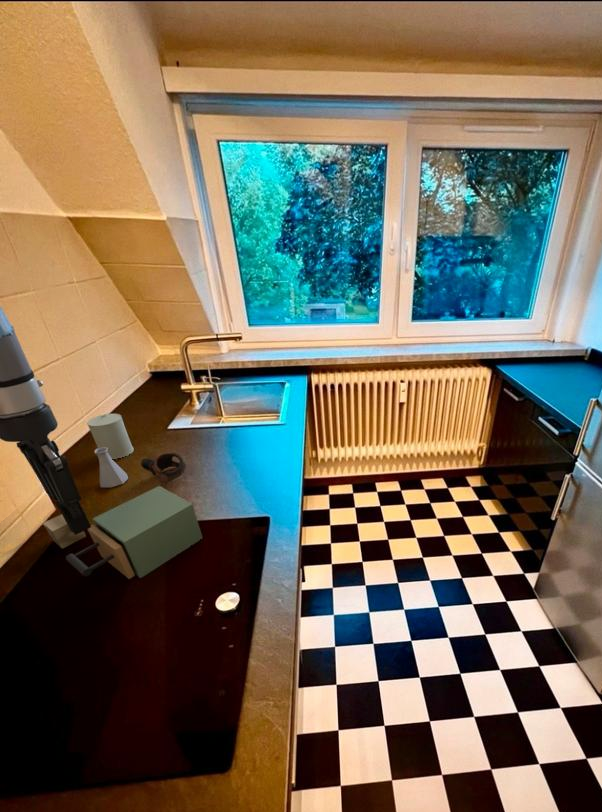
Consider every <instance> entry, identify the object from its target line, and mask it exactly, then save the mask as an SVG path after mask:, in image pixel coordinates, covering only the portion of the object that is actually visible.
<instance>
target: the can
mask: <svg viewBox="0 0 602 812" xmlns="http://www.w3.org/2000/svg"><path fill="white" fill-rule="evenodd" d="M124 423H125V422H124V420H123V417H122V415H121V414H119V413H104V414H99V415H96V416H93V417H92V418H89V419H88V420H87V421H86V425H87V427H88V429H89V431H90V434H91V436H92V438H93V440H94V442H95V444H96V445H95V446H96V447H97V449H98V448H102V447H107V448H108V454H109V455H110V457H111V458H112V459H116V460H118V459H117V458H121V459H123V458H122V457H124V458H126V457H128V456H130V455H131V454H133V453H134V449H135V448H134V446H133V445H132V442H131V440H130V437H129V434H128V432H127V429H126V426H125V424H124ZM129 454H130V455H129ZM125 456H126V457H125Z"/></svg>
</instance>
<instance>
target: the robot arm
mask: <svg viewBox="0 0 602 812" xmlns="http://www.w3.org/2000/svg"><path fill="white" fill-rule="evenodd" d="M15 331H16V330H15V328H14V326H13V324H12V323H11V321H10V320H9V319H8V316H7V314H6V313H5V311H4V309H3V308H2V306H1V305H0V440H1V441H4V442H7V443H16V447H17V448H18V449H19V450H20V452H21V454H23V456H24V457H25V459H26V460H27V462H28V464H29V466H30V467H31V469H32V470H33V472H34V474H35V476H36V477H37V478H38V481H39V482H40V483H41V485H42V487H43V488H44V490H45V493H46V494H47V495H50V496H51V499H52V500H53V501H55V504H54V506H55V508H56V509H57V510H59V512H60V515H61V514H62V515H63V517H64V519H65V521H66V523H67V525H68V526H69V528H70V530H71V532H73V533H74V534H75V535H77V534H79V533H81V532H83V531H84V532H85V531H88V530H87V529H89V528H91V525H92V524H91V523H90V521H89V519H88V517H87V516H86V513H85V512H84V509H83V507H82V505H81V503H80V502H81V501H82V496H81V495H80V492H79V490H78V488H77V485H76V482H75V480H74V478H73V476H72V473H71V471H70V468H69V463H68V459H67V457H65V455H60V453H59V451H60V449H59V447H58V445H57V443H56V441H55V440H51V439H50V438H49V435H50V433H53V432H54V431H55V430H56V429H57V428H58V426H59V424H58V423H59V422H58V421H57V418H56V416H55V414H54V412H53V410H52V408H51V406H50V405H49V404H47V403H46V401H47V399H46V397H45V395H44V393H43V390H42V389H41V388H42V387H43V386H44V383H43V381H42V380H41V379H37V378H36V377H35V373H34V371H33V370H32V368H31V365H30V363H29V360H28V359H27V357H26V354H25V352H24V350H23V348H22V346H21V343H20V341H19V339H18V336H17V334H16V332H15Z"/></svg>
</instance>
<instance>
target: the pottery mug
mask: <svg viewBox="0 0 602 812" xmlns="http://www.w3.org/2000/svg"><path fill="white" fill-rule="evenodd" d="M173 457H175V458H177V459H178V460H179V461H176V460H174V459H173ZM140 466H141V468H143V469H144V470H146V471H148V472H150V473H152V475H153V476H156V475H157V476H158V477H160V480H159V481H160V483H161V485H168V484H169V482H172V481H174V480H176V479H178V478H179V477H181V476H182V474H184V472H185V469H186V468H187V467H188V464H186V462H184V457H182V456H181V454H179V453H176V452H174V451H164V452H161V453H159V454H157V456H155V458H153V457H145V458H142V459H141V461H140ZM168 468H175V469H173V470H168V471H167V470H166V469H168ZM164 470H166V471H165V473H163V471H164Z"/></svg>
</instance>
